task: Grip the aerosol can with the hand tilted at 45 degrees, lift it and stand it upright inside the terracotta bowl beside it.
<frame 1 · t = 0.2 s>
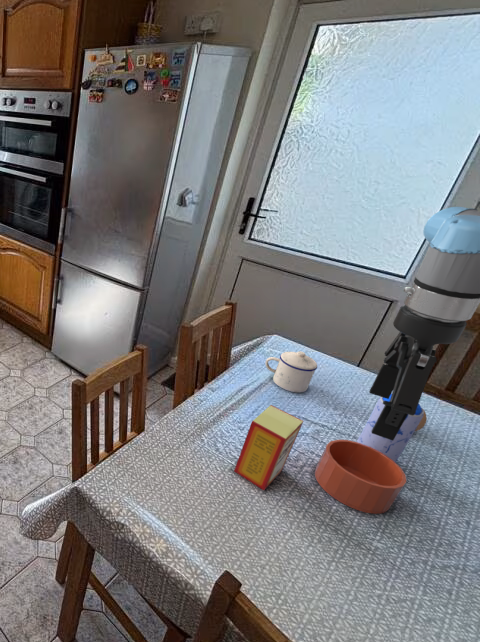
hand: (380, 414, 75), 29 cm above the table, tool pointing down, fingers open, 13 cm apart
egg: (404, 430, 110), on the table
aerosol can: (371, 458, 101), on the table
baking soda box: (257, 471, 99), on the table
teacup with lid: (283, 382, 128), on the table
terracotta bowl: (350, 487, 94), on the table
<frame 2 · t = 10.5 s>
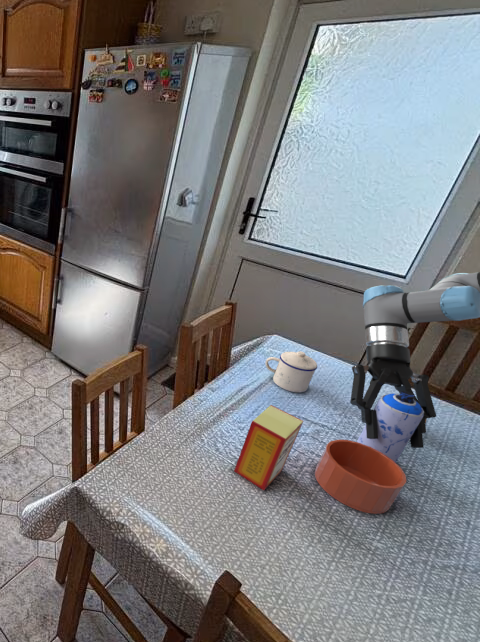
hand: (394, 442, 95), 9 cm above the table, tool tilted 45°, fingers closed on aerosol can, 7 cm apart
aerosol can: (371, 458, 101), on the table, touching gripper
everything else where it was.
when the fingers open (9 cm above the table, at t = 22.5 s): aerosol can stays where it is, resting on terracotta bowl.
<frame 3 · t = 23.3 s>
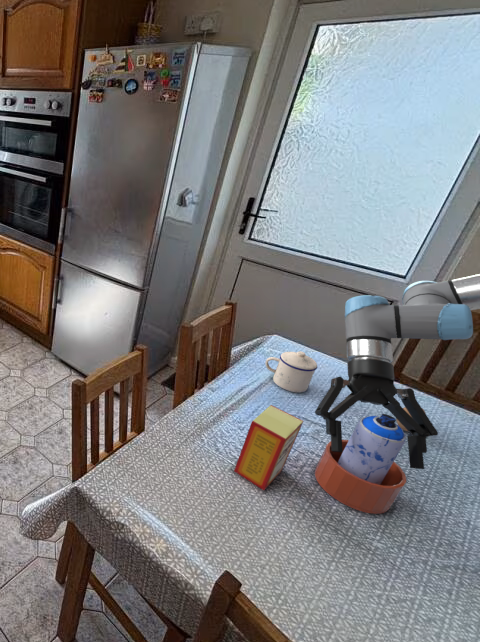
hand: (375, 460, 87), 11 cm above the table, tool tilted 45°, fingers open, 13 cm apart
aerosol can: (351, 485, 94), point 1 cm above the table, touching terracotta bowl
everything else where it was.
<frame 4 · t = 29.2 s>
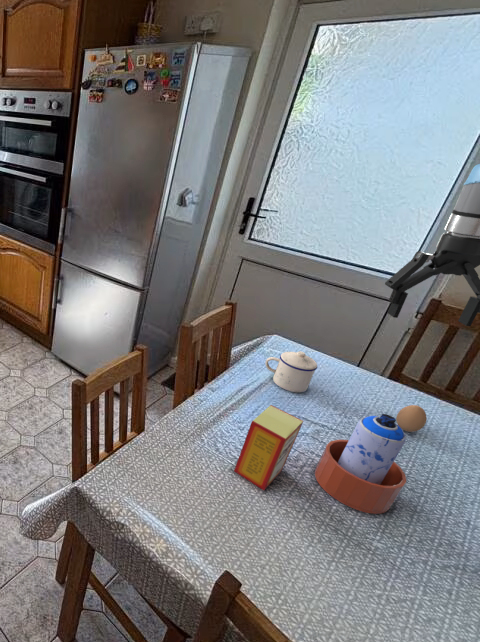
hand: (427, 319, 100), 32 cm above the table, tool pointing down, fingers open, 13 cm apart
nothing on the table moved.
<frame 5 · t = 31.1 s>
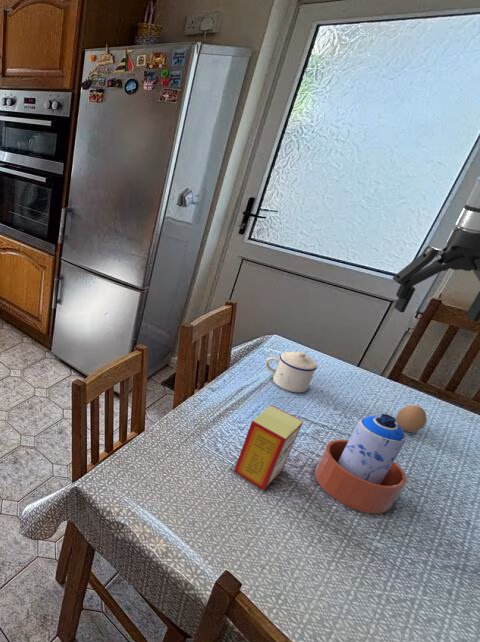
hand: (434, 314, 100), 33 cm above the table, tool pointing down, fingers open, 13 cm apart
nothing on the table moved.
at the end: aerosol can 0.1 cm off-centre in the terracotta bowl, point 0.6 cm above the terracotta bowl's base; aerosol can tilted 0°; the gripper is holding nothing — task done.
